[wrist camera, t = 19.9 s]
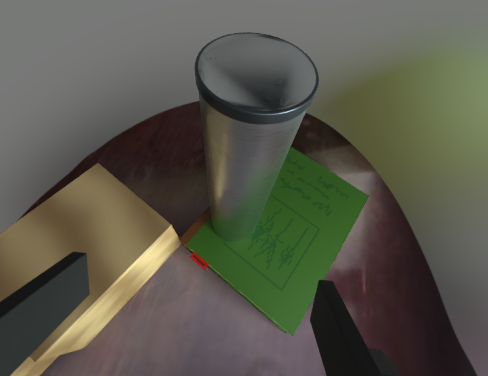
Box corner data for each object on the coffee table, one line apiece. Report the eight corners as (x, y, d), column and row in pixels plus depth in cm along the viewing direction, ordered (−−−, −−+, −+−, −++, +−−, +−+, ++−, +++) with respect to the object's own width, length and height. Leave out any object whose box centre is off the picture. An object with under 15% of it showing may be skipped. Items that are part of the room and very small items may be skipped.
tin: (201, 226, 33) (167, 75, 11) (226, 190, 36) (237, 19, 15) (242, 251, 31) (287, 135, 10) (265, 212, 35) (336, 61, 13)
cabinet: (84, 348, 28) (34, 362, 20) (20, 275, 31) (-44, 264, 23) (182, 243, 35) (171, 224, 27) (122, 191, 38) (97, 162, 30)
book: (271, 149, 45) (275, 136, 42) (357, 205, 41) (369, 196, 38) (179, 249, 35) (175, 243, 31) (282, 338, 30) (289, 342, 27)
